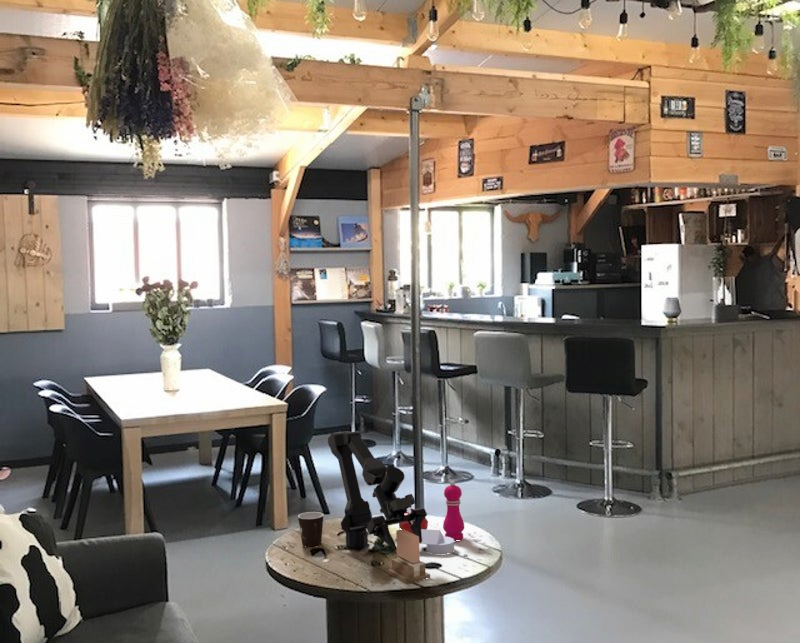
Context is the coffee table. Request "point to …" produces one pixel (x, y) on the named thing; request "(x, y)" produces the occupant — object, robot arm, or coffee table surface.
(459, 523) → the pepper mill
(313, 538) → the coffee mug
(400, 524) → the pomegranate
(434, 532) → the wedge on round base
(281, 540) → the coffee table surface
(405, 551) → the peach rectangular panel
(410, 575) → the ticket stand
